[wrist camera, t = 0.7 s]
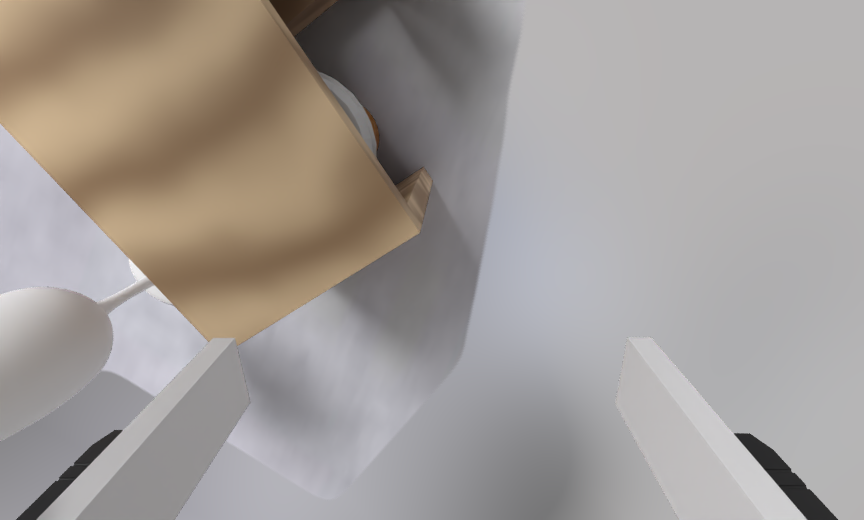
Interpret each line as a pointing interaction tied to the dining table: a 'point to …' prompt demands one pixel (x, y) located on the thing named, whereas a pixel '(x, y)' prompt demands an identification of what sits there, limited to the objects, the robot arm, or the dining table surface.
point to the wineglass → (54, 347)
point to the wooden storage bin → (202, 151)
